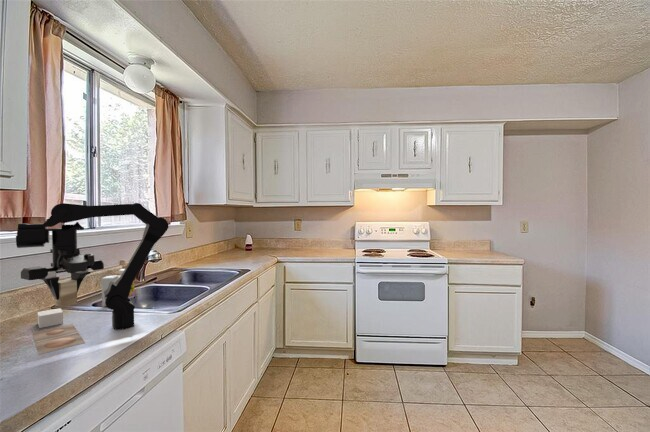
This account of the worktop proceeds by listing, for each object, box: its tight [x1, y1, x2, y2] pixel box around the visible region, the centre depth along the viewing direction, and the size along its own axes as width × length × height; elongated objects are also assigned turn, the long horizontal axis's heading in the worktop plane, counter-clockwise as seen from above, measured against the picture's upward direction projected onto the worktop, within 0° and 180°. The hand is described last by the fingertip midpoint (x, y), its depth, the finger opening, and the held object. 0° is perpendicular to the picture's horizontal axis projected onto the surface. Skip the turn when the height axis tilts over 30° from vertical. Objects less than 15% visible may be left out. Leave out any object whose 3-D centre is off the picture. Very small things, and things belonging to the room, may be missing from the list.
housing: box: [37, 307, 64, 329], centre depth 108 cm, size 6×6×5 cm
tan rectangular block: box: [53, 278, 78, 308], centre depth 96 cm, size 4×4×7 cm
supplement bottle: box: [118, 268, 135, 300], centre depth 142 cm, size 7×7×13 cm
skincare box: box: [100, 274, 119, 308], centre depth 130 cm, size 6×4×12 cm
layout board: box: [31, 323, 86, 355], centre depth 96 cm, size 22×10×1 cm, turn 46°
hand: (65, 297), depth 96 cm, fingers closed on tan rectangular block, 4 cm apart
